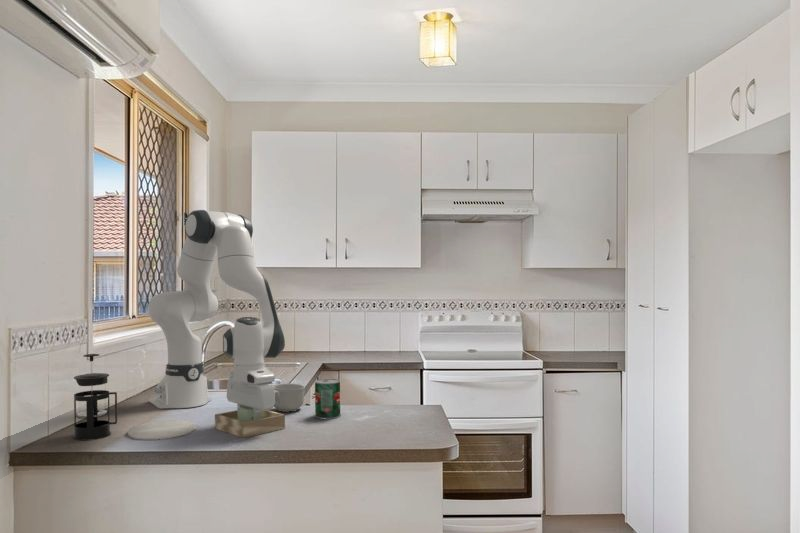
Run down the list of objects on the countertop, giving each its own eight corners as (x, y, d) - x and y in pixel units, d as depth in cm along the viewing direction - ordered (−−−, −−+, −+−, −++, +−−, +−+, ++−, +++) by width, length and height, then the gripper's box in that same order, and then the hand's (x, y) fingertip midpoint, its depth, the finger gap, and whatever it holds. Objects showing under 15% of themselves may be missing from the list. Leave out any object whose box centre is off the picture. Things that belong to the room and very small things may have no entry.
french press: (68, 441, 174) (67, 357, 174) (73, 433, 183) (72, 353, 183) (115, 437, 178) (114, 354, 178) (118, 429, 187) (117, 350, 187)
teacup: (290, 405, 217) (289, 381, 217) (312, 409, 210) (311, 385, 210) (256, 412, 206) (256, 387, 206) (278, 417, 200) (278, 391, 200)
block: (237, 428, 186) (237, 407, 186) (252, 425, 190) (252, 405, 190) (247, 431, 183) (246, 410, 183) (262, 428, 186) (261, 407, 186)
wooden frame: (215, 428, 187) (214, 414, 187) (255, 419, 197) (255, 406, 197) (243, 437, 176) (243, 423, 176) (285, 428, 186) (284, 414, 186)
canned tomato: (344, 416, 199) (344, 381, 199) (321, 420, 195) (320, 384, 195) (334, 412, 206) (333, 377, 206) (311, 415, 202) (310, 380, 202)
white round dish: (117, 432, 184) (117, 428, 184) (177, 420, 197) (176, 417, 197) (144, 443, 171) (144, 440, 171) (206, 430, 184) (206, 427, 184)
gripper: (221, 371, 191) (221, 417, 191) (259, 379, 177) (259, 429, 177) (239, 368, 196) (240, 413, 196) (278, 376, 182) (278, 424, 182)
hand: (249, 421), depth 186 cm, fingers closed on block, 5 cm apart
